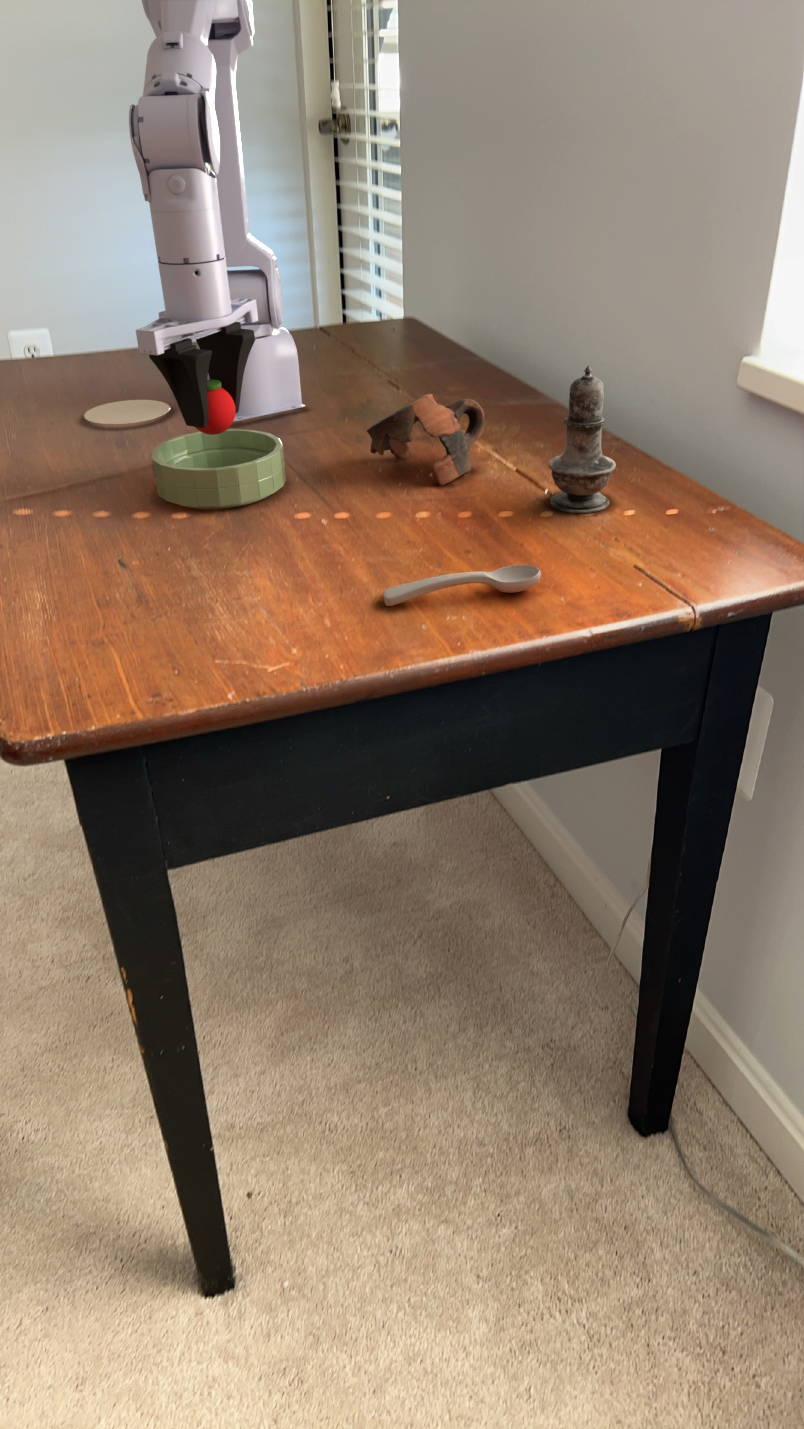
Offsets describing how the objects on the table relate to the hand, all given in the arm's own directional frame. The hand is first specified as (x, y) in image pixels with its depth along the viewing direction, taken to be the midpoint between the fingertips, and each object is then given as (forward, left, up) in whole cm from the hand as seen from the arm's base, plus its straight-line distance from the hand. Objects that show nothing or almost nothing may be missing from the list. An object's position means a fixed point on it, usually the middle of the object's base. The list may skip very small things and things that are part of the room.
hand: (213, 418), depth 94 cm
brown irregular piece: (-19, +8, -7) cm, 22 cm away
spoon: (-4, +33, -7) cm, 34 cm away
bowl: (0, 0, -7) cm, 7 cm away
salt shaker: (-24, +24, -7) cm, 35 cm away
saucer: (-2, -30, -7) cm, 31 cm away
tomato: (0, 0, -1) cm, 1 cm away
